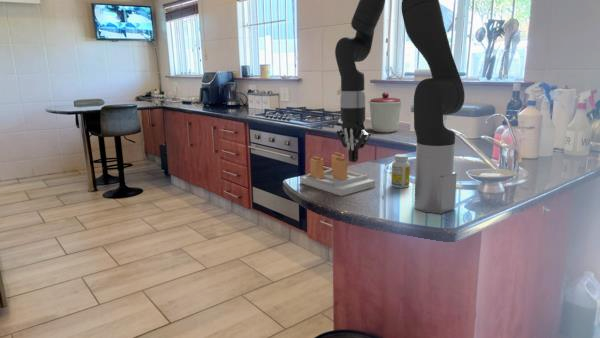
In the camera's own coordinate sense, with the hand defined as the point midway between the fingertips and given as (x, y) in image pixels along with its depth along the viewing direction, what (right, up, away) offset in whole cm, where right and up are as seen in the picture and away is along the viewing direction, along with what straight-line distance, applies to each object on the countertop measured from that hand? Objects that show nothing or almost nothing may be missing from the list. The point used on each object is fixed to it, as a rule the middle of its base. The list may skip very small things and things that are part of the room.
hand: (353, 161), depth 135 cm
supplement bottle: (+14, -8, -2) cm, 16 cm away
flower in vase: (+12, +25, +132) cm, 135 cm away
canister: (+30, +18, +102) cm, 107 cm away
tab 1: (-11, -5, +2) cm, 12 cm away
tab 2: (-4, -4, +7) cm, 9 cm away
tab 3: (-4, -5, 0) cm, 7 cm away
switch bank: (-5, -7, +1) cm, 9 cm away
